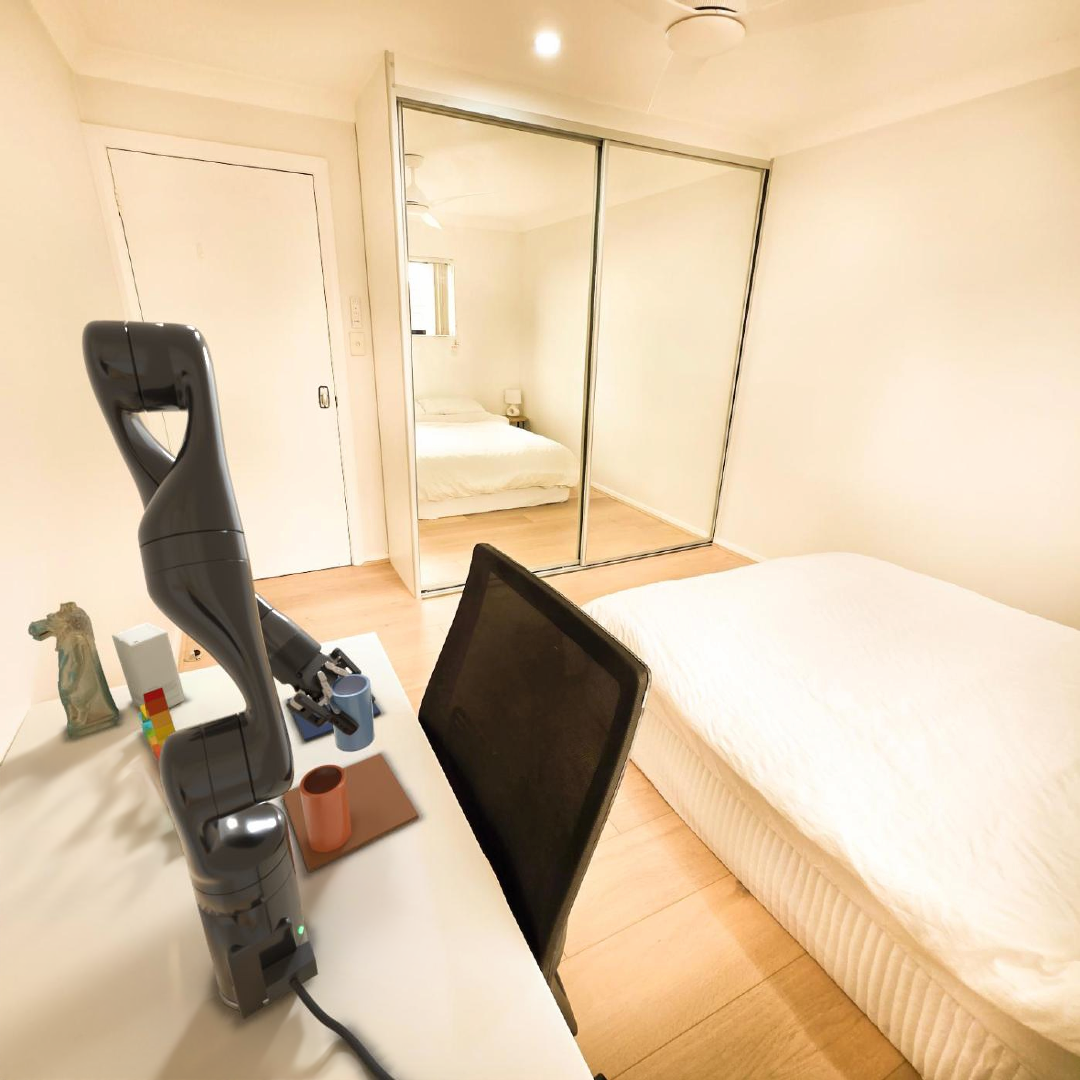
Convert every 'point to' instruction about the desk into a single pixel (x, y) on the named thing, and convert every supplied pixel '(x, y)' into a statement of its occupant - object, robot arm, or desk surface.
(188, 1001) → the desk surface
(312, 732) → the navy mat
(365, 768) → the brown mat
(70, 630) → the statue
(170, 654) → the cosmetic box
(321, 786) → the terracotta tumbler
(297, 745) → the desk surface
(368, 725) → the blue tumbler
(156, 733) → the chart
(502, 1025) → the desk surface
